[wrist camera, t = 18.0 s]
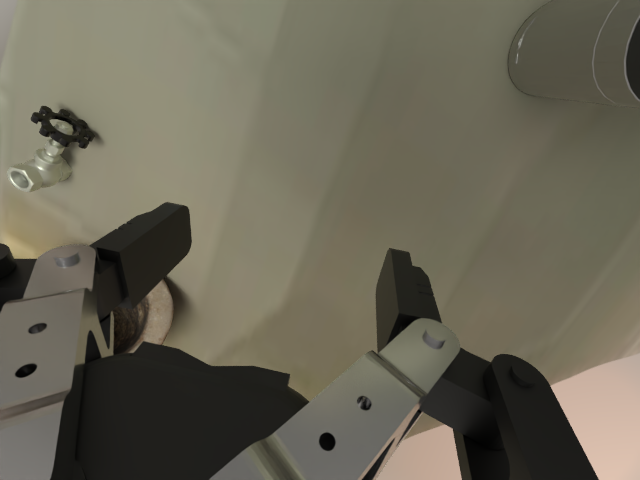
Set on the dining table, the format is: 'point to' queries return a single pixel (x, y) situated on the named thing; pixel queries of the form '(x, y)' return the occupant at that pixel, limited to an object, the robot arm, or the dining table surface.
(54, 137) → the valve
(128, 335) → the pipe
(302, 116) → the dining table surface
